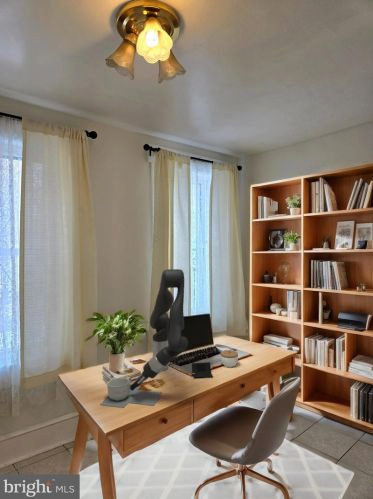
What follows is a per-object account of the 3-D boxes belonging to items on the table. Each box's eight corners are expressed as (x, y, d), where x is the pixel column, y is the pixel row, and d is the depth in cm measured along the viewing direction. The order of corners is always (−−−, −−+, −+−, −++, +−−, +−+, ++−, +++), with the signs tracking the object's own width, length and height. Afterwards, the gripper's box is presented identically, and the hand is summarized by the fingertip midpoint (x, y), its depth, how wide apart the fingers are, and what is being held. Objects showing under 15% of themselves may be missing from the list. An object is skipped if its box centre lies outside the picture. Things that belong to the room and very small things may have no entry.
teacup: (115, 405, 146) (115, 388, 146) (102, 397, 154) (102, 381, 153) (139, 395, 156) (139, 379, 156) (126, 388, 164) (126, 372, 163)
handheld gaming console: (195, 377, 173) (194, 359, 179) (191, 381, 179) (190, 363, 185) (214, 378, 176) (213, 360, 182) (210, 381, 182) (208, 364, 188)
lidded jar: (216, 364, 195) (216, 349, 195) (229, 360, 201) (229, 346, 201) (229, 370, 186) (229, 354, 186) (241, 366, 193) (241, 350, 193)
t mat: (119, 384, 169) (119, 383, 169) (164, 388, 163) (164, 388, 163) (99, 404, 147) (99, 404, 147) (151, 411, 142) (151, 410, 142)
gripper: (154, 355, 159) (131, 377, 162) (145, 365, 147) (120, 388, 149) (164, 366, 158) (141, 388, 161) (156, 377, 146) (131, 401, 148)
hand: (131, 388), depth 155 cm, fingers closed
